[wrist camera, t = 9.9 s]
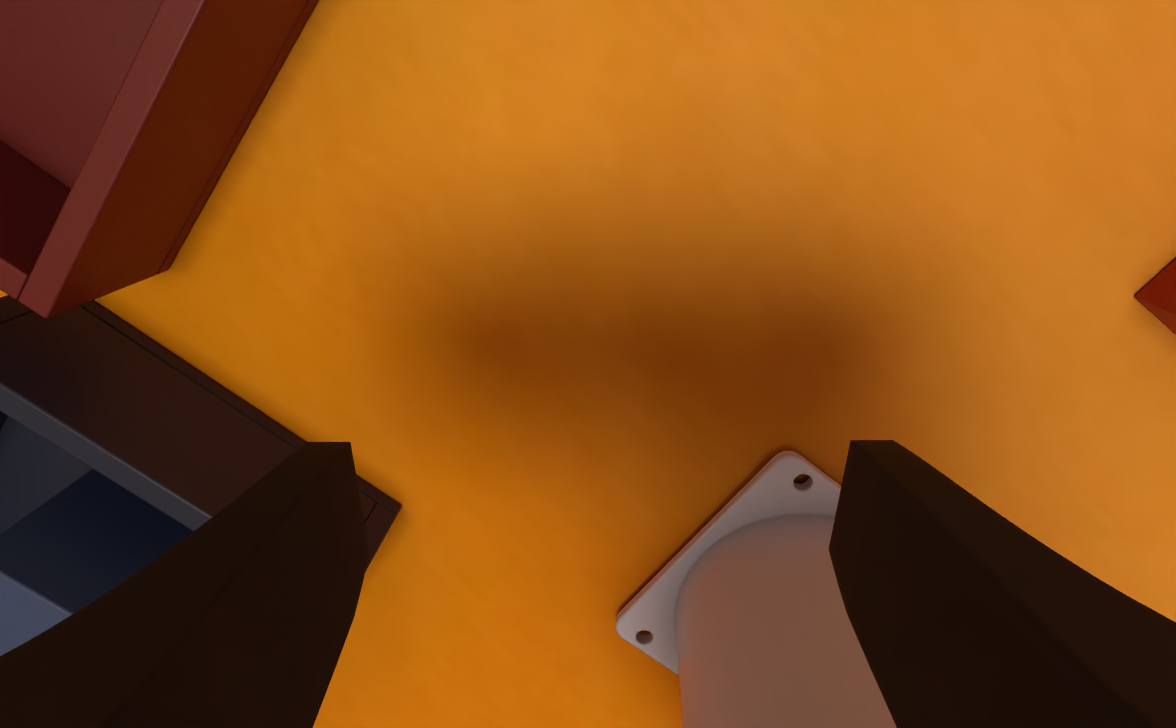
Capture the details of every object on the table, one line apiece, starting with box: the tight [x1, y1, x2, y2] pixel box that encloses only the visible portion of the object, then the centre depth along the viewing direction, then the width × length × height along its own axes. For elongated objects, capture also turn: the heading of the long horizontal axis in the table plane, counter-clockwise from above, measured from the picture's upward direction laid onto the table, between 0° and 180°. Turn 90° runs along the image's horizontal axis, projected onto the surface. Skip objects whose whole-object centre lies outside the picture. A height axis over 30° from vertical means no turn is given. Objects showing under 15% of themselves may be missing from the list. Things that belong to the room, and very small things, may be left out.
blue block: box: [0, 469, 193, 656], centre depth 21 cm, size 4×4×5 cm
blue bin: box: [0, 295, 401, 572], centre depth 21 cm, size 11×11×4 cm
